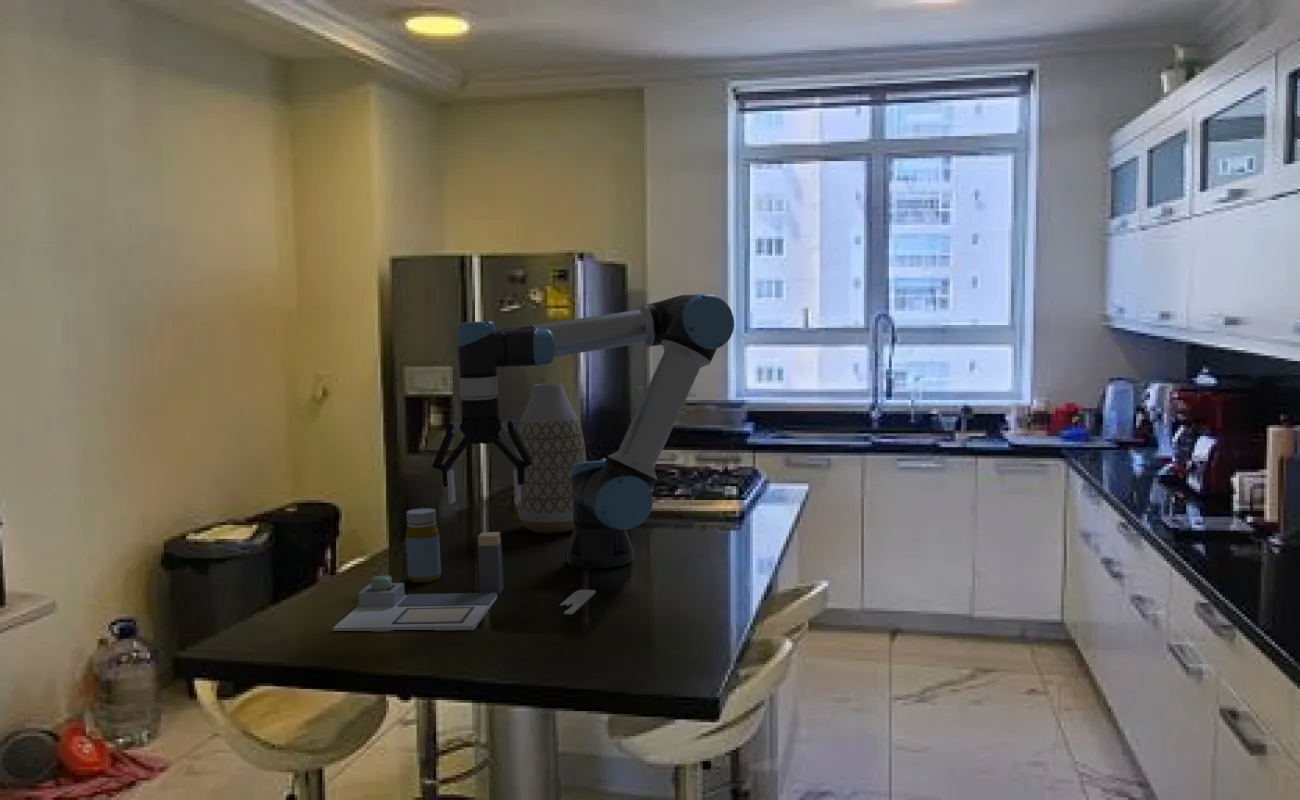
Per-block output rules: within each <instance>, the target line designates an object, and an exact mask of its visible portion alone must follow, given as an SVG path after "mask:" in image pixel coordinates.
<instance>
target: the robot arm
mask: <svg viewBox="0 0 1300 800" xmlns="http://www.w3.org/2000/svg"><path fill="white" fill-rule="evenodd" d="M734 329H735V320H734V314H733V312H732V309H731V307H730V306H729V304H728V303H727V302H726V301H725V300H724V299H723V298H721V297H719V296H718V295H714V294H709V293H705V292H703V293H702V292H700V293H696V294H682V295H677V296H673V297H670V298H666V299H664V300H660V301H659V300H658V301H655V302H651V303H645V304H641V305H640V306H639V308H637V309H635V310H630V311H629V310H628V311H622V312H615V313H607V314H602V315H601V314H600V315H594V316H588V317H581V318H573V319H566V320H561V321H553V322H546V323H541V324H540V323H539V324H533V325H526V326H520V327H506V328H505V327H504V328H502V329H500V330H499V329H496V325H495V323H494V322H493V321H487V320H486V321H467V322H465V321H464V322H460V323H459V325H458V326H457V345H456V347H457V357H458V370H459V372H458V373H459V396H460V397H461V398H462V399H461V401H460V412H461V413H460V414H461V423H456V422H453V421H450V422H448V423H447V424H446V425H445V426H446V427H445V435H444V437H443V440H442V442H441V445H440V447H439V449H438V451H437V454H436V456H435V459H434V460H433V463H432V468H433V469H434V470H439V471H441V474H442V475H441V476H442V486H443V487H445V488H447V497H448V505H449V504H454V503H455V502H456V499H457V497H456V484H455V470H454V469H451V468H452V466H453V465H454V464H455V462H456V461H457V460H458V459H459V457H460V456H461V455H462V453H463V452H464V451H465V449H466V448H467V447H468V445H469V444H470V443H471V444H472V445H479V444H484V445H489V444H491V443H492V444H493V445H495V446H496V447H497V448H498V449H499V450H500V451H501V452H502V454H504V456H505V457H506V458H507V459H508V460H509V461H510V462H511V463H512V464H513V465H514V467H515V468H514V469H512V470H513V474H512V477H513V492H514V502H515V503H517V502H519V501H520V500H521V490H520V485H523V484H524V483H525V467H527V466H530V465H531V464H532V463H533V459H532V457H531V456H530V454H529V452H528V450H527V448H526V447H525V445H524V443H523V441H522V439H521V438H520V436H519V434H518V430H517V426H516V421H515V420H513V419H511V420H509V421H503V422H501V419H500V410H499V409H500V407H499V399H498V398H497V397H496V396H498V394H499V387H498V386H499V385H498V371H497V369H498V368H506V367H508V368H509V367H510V368H511V367H530V366H533V367H534V366H536V367H539V366H541V365H542V366H543V365H544V366H545V365H550V364H551V363H552V362H553V361H554V359H555V358H556V357H560V356H561V357H562V356H568V355H575V354H581V353H587V352H588V353H589V352H594V351H600V350H606V349H613V348H614V349H615V348H620V347H626V346H632V345H640V344H643V345H644V346H645V347H656V346H662V347H663V351H664V352H663V353H662V356H661V358H660V360H659V363H658V364H657V367H656V369H655V370H654V374H653V375H652V378H651V379H650V382H649V384H648V385H647V388H646V389H645V393H644V395H643V397H642V399H641V400H640V403H639V406H638V407H637V410H636V412H635V414H634V416H633V418H632V421H631V422H630V425H629V427H628V429H627V431H626V434H625V435H624V437H623V440H622V441H621V444H620V446H619V448H618V450H617V451H616V452H613V453H611V454H609V455H607V456H606V459H603V460H592V461H591V460H589V461H586V462H580V463H575V464H574V465H573V466H572V475H571V480H572V500H573V521H574V529H573V530H572V534H571V537H570V540H569V541H570V542H569V545H568V547H567V553H566V556H567V557H566V560H567V561H566V562H567V564H568V565H570V566H571V567H574V568H581V569H595V570H597V569H611V568H617V567H623V566H626V565H628V564H630V563H633V562H634V561H635V555H634V554H635V552H634V547H633V545H632V542H631V540H630V537H629V534H628V530H631V529H634V528H636V527H639V525H641V524H642V523H644V522H645V521H646V519H648V517H649V515H650V514H651V511H652V509H653V505H654V499H653V498H654V497H653V494H652V493H653V492H652V491H653V489H654V486H655V484H656V482H657V480H658V476H657V474H656V471H655V468H656V465H657V463H658V460H659V458H660V456H661V454H662V452H663V449H664V448H665V445H666V443H667V441H668V440H669V437H670V434H671V432H672V430H673V428H674V426H675V424H676V421H677V419H678V417H679V415H680V412H681V411H682V409H683V406H684V404H685V402H686V400H687V398H688V395H689V393H690V392H691V389H692V387H693V385H694V382H695V381H696V378H697V376H698V374H699V372H700V370H701V368H703V367H706V366H709V365H711V363H712V360H713V358H714V356H715V353H716V352H717V349H720V348H721V347H723V346H725V344H727V343H728V341H729V340H731V338H732V334H733V333H734ZM502 429H504V431H505V432H506V433H508V435H509V438H510V439H511V441H512V443H513V445H514V446H515V449H516V448H517V450H518V452H519V453H520V455H521V457H522V459H523V461H522V460H521V459H520V458H519V457H518V456H517V455H516V451H514V450H513V449H512V448H511V447H510V446H509V444H507V442H506V441H505V440H504V438H503V437H502V436H501V435H500V434H499V433H500V432H501V430H502ZM459 430H460V431H461V433H462V434H463V435H464V437H463V438H462V439H461V441H460V442H459V444H458V445H457V447H456V448H454V450H453V451H452V453H451V454H450V455H449V457H448V458H447V459H446V461H445V462H444V460H445V458H446V455H447V452H448V450H449V448H450V445H451V443H452V442H453V438H454V436H455V434H457V433H458V431H459ZM516 467H517V468H516Z"/></svg>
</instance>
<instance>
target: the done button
mask: <svg viewBox="0 0 1300 800" xmlns="http://www.w3.org/2000/svg"><path fill="white" fill-rule="evenodd" d="M392 583H393V580H392V575H391V576H390V575H376V576H373V577H371V578H370V584H371V591H390V590H391V589H392Z"/></svg>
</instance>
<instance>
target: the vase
mask: <svg viewBox="0 0 1300 800" xmlns="http://www.w3.org/2000/svg"><path fill="white" fill-rule="evenodd" d="M580 423H581V422H580V420H579V418H578V415H577V414H576V412H575V409H574V408H573V405H572V404H571V402H570V401H569V398H568V396H567V394H566V391H565V388H564V385H563V384H562V383H553V382H552V383H536V384H533V385H532V390H531V394H530V396H529V400H528V403H527V405H526V407H525V409H524V411H523V414H522V416H521V419H520V423H519V427H518V430H517V432H518V434H519V436H520V438H521V439H522V441H523V443H524V445H525V447H526V448H527V450H528V452H529V454H530V456H531V457H532V459H533V463H532V464H531V465H530V466H527V467H525V483H524V484H523V485H520V490H521V500H520V501H519V502H516V504H517V511H518V517H519V519H520V521H521V523H522V524H523V526H525V528H527V529H528V530H529V531H531V532H533V533H539V534H561V533H567V532H571V531H572V532H573V529H574V521H573V500H572V480H571V475H572V466H573V465H574V464H575V463H580V462H587V455H586V445H585V439H584V434H583V430H582V426H581V424H580ZM515 454H516V455H517V456H518V457H519V458H520V459H521V460H522V461H523V459H522V457H521V455H520V453H519V452H518V450H517V448H516V447H515ZM515 468H517V467H516V466H515Z"/></svg>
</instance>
